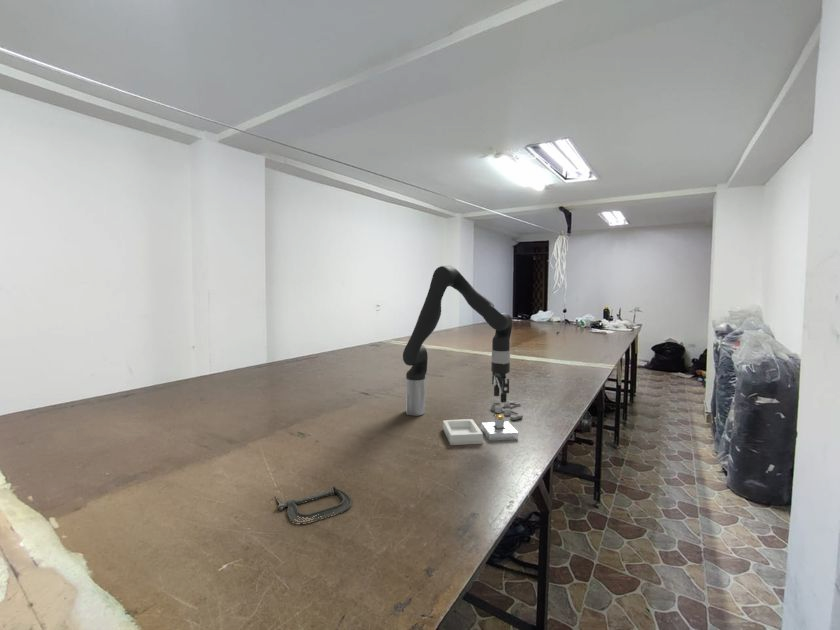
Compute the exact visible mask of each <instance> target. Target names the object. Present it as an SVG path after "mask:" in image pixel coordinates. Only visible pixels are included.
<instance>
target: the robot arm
mask: <svg viewBox="0 0 840 630" xmlns="http://www.w3.org/2000/svg"><path fill="white" fill-rule="evenodd" d="M448 287H451V288H453V289H454V290H456V291H458V293H459V294H461V296H463V298H464V300H465V301H466V303H467V304H468V305H469V307H470V308H472V309H473V310H474V311H475V312H476V313H478V314H479V315H480V316H481V317H482V318H483V320H484V321H485V322H486V323H487V324H488V326H490V327H491V328H492V329H494V330H495V334H494V336H493V337H492V340H491V341H492V344H491V345H492V347H491V358H490V359H491V365H490V366H491V367H490V368H491V369H490V370H491V373H492V375H491V377H492V378H491V379H492V380H491V384H492V386H493V396H494V397H499V396H500V403H501V404H502V403H503V404H504V402H507V394H509V393H510V377H509V378H507V374H510V372H511V354H510V353H511V352H510V347H511V346H510V345H511V343H510V340H511V335H512V329H513V328H512V327H513V320H512V316H511V315H510V314H509V313H507V312H500V311H499V310H498V309H496V308H495V305H494V303H493V302H492V301H490V299H488V298H487V297H486V296H485V295H483V294H482V292H480V291H478V290H477V289H476V288H475V287H474V286H473V285H472V284H471V283H470V282H469V281H468V279H466V278H465V277H464V276H463V274H462V273H461V272H460V271H459V270H458V269H457V268H456V267H454V266H453V265H441V266H438V267H437V268H436V269H435V270H434V271H433V274H432V277H431V280H430V285H429V289H428V291H427V295H426V297H425V300H424V303H423V306H422V307H421V310H420V313H419V315H418V318H417V320H416V323H415V325H414V328H413V331H412V333H411V335H410V337H409V340H408V342H407V343H406V345H405V346H404V349H403V353H402V360H403V362H404V363H403V364H405V365H406V366H409V367H410V366H411V367H410V369H409V370H407V372H406V374H405V375H406V376H405V377H406V378H405V381H406V385H405V413H406V415H407V416H416V417H417V416H421V415H422V416H423V415H424V414H426V374H427V371H428V351H427V348H426V347H425V346H424V345H423V344H424V343H425V341H426V340H427V339H428V337H430V335H431V334H432V333H433V332H434V330H436V328H437V327H438V326H437V325H438V323H439V321H440V318H441V315H442V300H443V296H444V294H445V292H446V290H447V289H448Z"/></svg>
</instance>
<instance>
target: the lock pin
mask: <svg viewBox="0 0 840 630" xmlns="http://www.w3.org/2000/svg"><path fill="white" fill-rule="evenodd" d="M494 422H495V429H496V430H498V429H504V422H505V415H503V413H501V414H500V413H497V414H494Z"/></svg>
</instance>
